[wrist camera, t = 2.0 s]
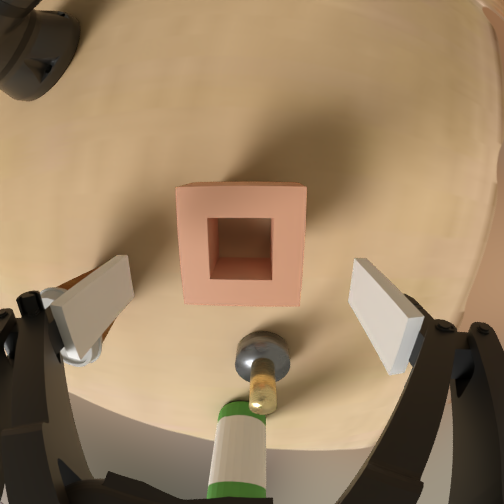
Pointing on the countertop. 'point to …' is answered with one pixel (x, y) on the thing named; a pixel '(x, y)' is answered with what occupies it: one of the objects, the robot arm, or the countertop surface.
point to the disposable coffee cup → (90, 356)
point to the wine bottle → (239, 454)
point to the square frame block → (241, 268)
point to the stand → (244, 237)
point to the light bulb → (262, 368)
